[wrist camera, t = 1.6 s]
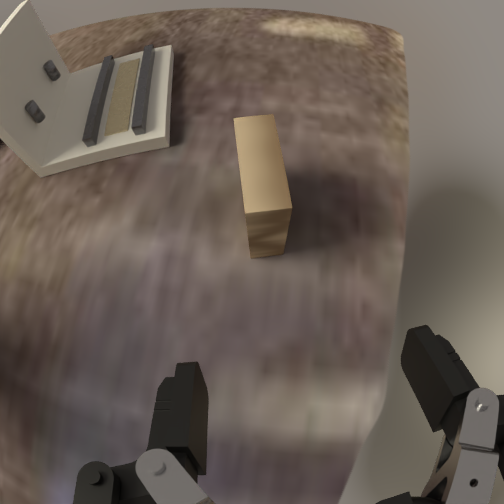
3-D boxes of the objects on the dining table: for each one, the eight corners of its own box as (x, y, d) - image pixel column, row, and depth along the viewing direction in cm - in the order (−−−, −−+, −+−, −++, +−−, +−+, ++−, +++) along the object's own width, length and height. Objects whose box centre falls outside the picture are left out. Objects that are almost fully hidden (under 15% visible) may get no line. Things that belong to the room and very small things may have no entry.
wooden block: (250, 258, 30) (245, 213, 20) (240, 175, 32) (232, 109, 23) (283, 254, 30) (292, 207, 20) (269, 172, 32) (271, 106, 23)
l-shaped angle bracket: (41, 177, 34) (-43, 92, 17) (67, 84, 39) (20, 3, 22) (169, 146, 34) (116, 15, 17) (174, 54, 39) (147, -48, 22)
